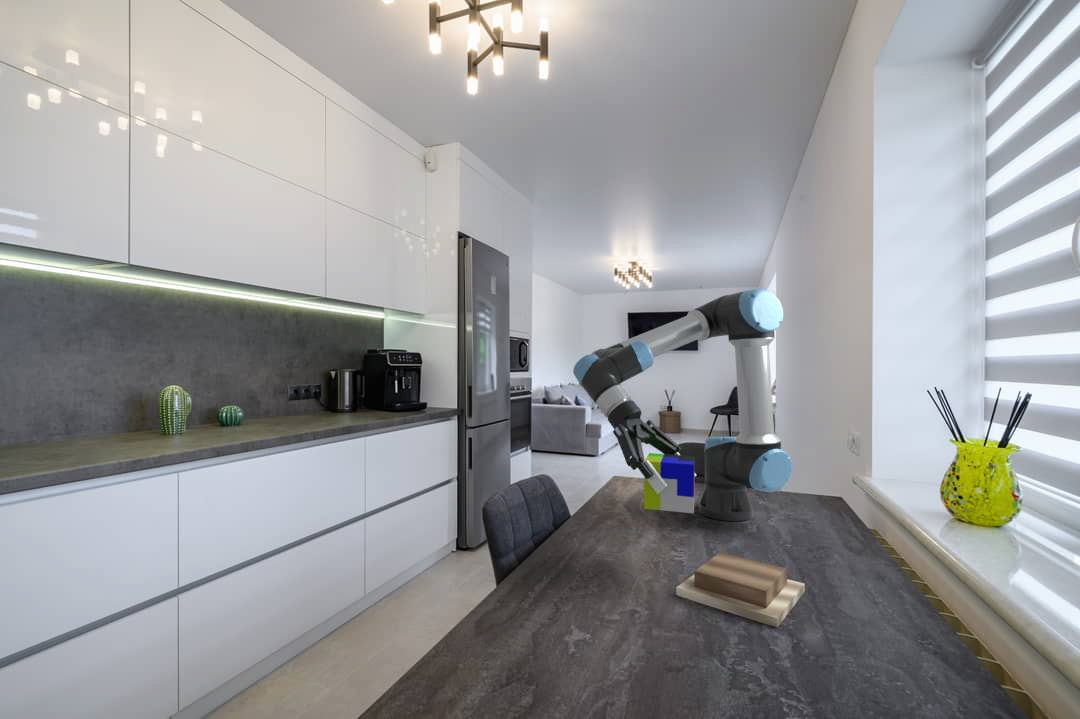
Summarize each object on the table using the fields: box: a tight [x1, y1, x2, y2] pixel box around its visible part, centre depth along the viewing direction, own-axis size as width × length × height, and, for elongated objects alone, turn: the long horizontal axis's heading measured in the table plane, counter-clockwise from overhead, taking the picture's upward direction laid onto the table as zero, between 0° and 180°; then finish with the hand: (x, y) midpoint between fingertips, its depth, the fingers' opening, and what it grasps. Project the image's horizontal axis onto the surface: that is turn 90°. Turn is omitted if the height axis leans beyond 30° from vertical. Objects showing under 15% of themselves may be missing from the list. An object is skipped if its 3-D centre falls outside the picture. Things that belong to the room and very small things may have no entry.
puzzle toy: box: [643, 452, 696, 514], centre depth 108 cm, size 10×10×10 cm
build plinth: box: [675, 551, 806, 628], centre depth 95 cm, size 18×18×4 cm
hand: (678, 484), depth 107 cm, fingers closed on puzzle toy, 13 cm apart
